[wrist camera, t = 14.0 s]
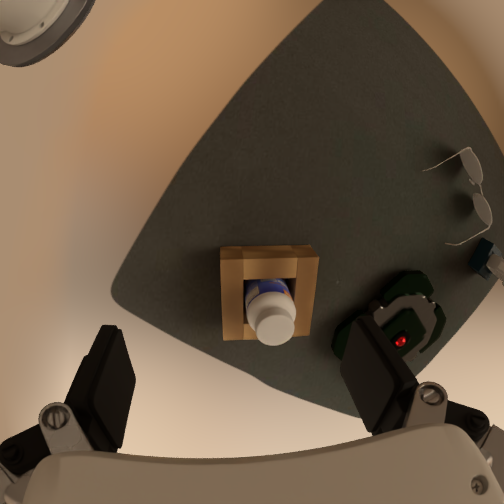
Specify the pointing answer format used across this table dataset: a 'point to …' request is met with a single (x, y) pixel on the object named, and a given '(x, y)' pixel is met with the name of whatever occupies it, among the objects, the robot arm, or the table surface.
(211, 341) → the table surface
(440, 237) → the table surface
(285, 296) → the pill bottle
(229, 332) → the socket
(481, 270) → the watch
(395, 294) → the dark green landmine
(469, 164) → the sunglasses
